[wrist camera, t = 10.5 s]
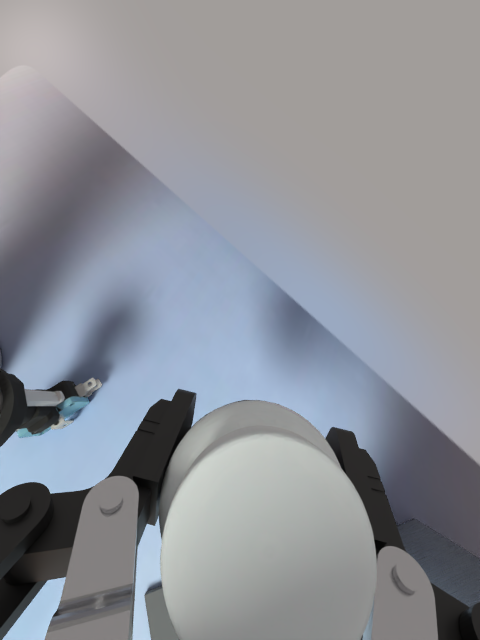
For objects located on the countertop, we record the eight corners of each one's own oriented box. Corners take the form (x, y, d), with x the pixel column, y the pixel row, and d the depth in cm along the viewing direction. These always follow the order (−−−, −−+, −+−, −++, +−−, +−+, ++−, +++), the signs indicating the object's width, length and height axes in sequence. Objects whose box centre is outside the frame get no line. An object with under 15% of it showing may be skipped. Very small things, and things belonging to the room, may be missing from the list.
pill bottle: (299, 412, 15) (416, 423, 5) (287, 524, 13) (428, 815, 4) (204, 394, 15) (162, 375, 6) (180, 504, 13) (65, 738, 4)
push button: (90, 359, 25) (2, 330, 15) (117, 408, 24) (38, 408, 14) (22, 402, 24) (-122, 399, 14) (45, 456, 22) (-95, 492, 13)
